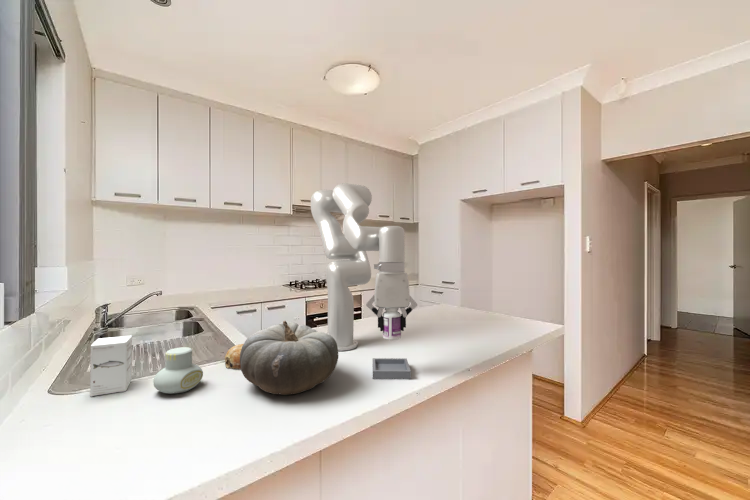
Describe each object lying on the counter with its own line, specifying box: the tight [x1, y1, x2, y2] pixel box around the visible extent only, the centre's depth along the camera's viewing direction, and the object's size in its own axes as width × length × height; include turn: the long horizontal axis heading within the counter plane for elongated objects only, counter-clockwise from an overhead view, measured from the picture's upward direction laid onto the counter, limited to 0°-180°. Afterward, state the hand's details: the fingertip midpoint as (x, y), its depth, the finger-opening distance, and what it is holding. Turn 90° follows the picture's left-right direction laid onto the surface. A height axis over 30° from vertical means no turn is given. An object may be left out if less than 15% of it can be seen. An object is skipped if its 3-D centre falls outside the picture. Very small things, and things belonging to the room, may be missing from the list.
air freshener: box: [152, 346, 204, 395], centre depth 85 cm, size 11×8×10 cm
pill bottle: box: [382, 308, 402, 341], centre depth 97 cm, size 5×5×10 cm
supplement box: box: [89, 335, 133, 397], centre depth 85 cm, size 7×7×13 cm
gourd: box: [240, 320, 339, 396], centre depth 89 cm, size 25×25×17 cm
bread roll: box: [224, 343, 244, 370], centre depth 103 cm, size 10×10×8 cm
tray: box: [372, 357, 412, 380], centre depth 98 cm, size 11×11×2 cm
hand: (391, 329), depth 97 cm, fingers closed on pill bottle, 5 cm apart
